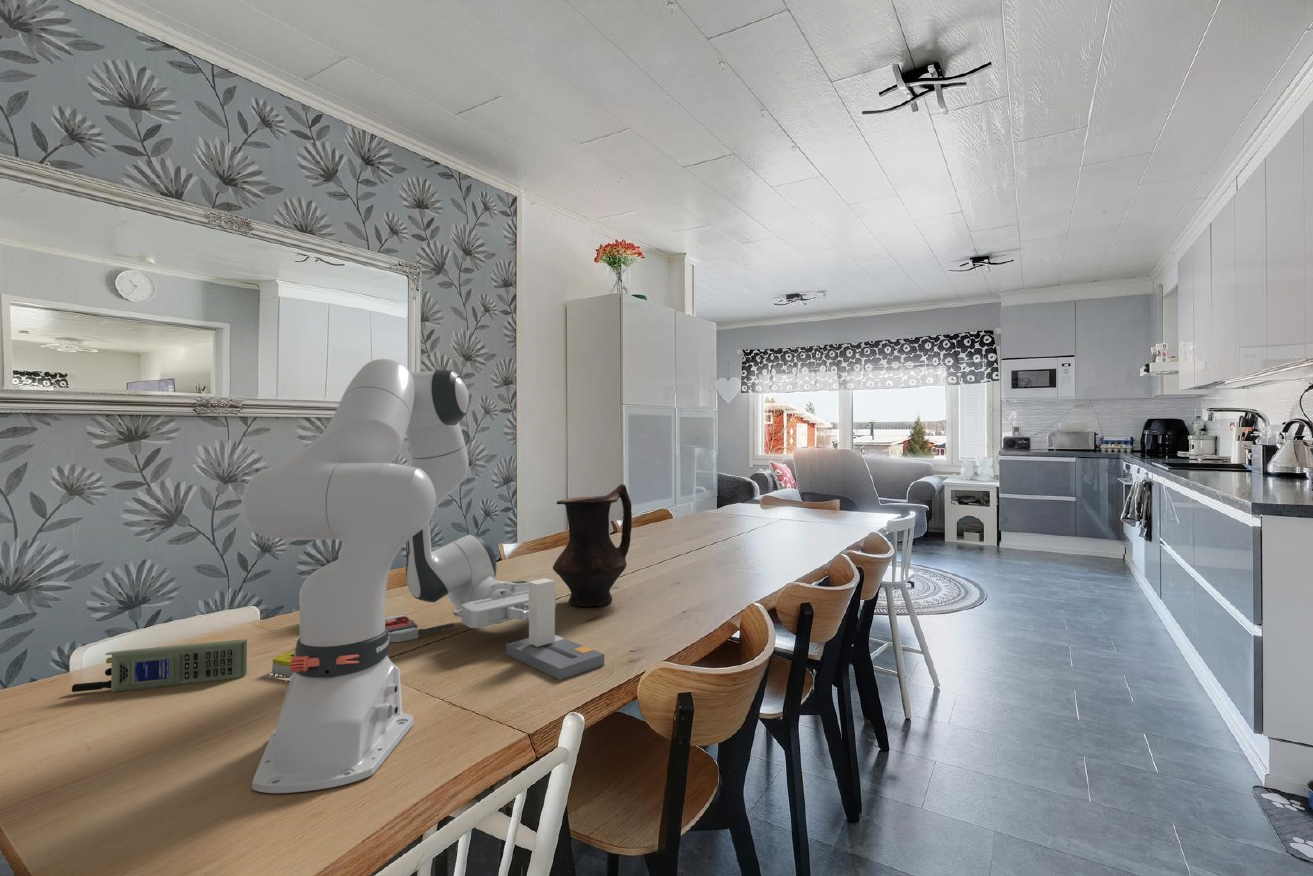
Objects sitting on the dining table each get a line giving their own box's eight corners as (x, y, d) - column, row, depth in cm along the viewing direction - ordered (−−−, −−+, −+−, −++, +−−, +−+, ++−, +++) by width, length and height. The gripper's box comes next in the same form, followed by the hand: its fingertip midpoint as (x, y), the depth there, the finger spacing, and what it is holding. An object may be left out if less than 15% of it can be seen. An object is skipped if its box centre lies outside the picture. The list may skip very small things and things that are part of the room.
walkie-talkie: (356, 653, 121) (455, 632, 134) (356, 631, 121) (455, 612, 134) (345, 642, 128) (440, 623, 141) (345, 621, 128) (440, 604, 141)
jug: (568, 617, 143) (567, 490, 143) (543, 599, 159) (542, 484, 159) (648, 605, 153) (647, 486, 153) (616, 589, 169) (615, 481, 169)
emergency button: (261, 655, 109) (333, 630, 123) (261, 679, 109) (333, 651, 123) (298, 661, 106) (368, 635, 120) (298, 687, 106) (368, 657, 120)
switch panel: (506, 654, 119) (506, 643, 119) (548, 641, 126) (548, 631, 126) (560, 680, 106) (560, 668, 106) (604, 664, 113) (604, 653, 113)
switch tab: (529, 643, 119) (528, 581, 119) (546, 638, 122) (545, 578, 122) (537, 646, 117) (537, 584, 117) (554, 641, 120) (554, 580, 119)
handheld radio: (242, 680, 108) (66, 700, 100) (248, 674, 111) (78, 692, 104) (242, 642, 108) (67, 659, 101) (248, 637, 112) (78, 653, 104)
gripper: (449, 596, 124) (482, 609, 115) (534, 579, 139) (571, 589, 129) (449, 627, 124) (483, 643, 115) (534, 607, 139) (571, 619, 129)
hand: (530, 614), depth 122 cm, fingers closed
